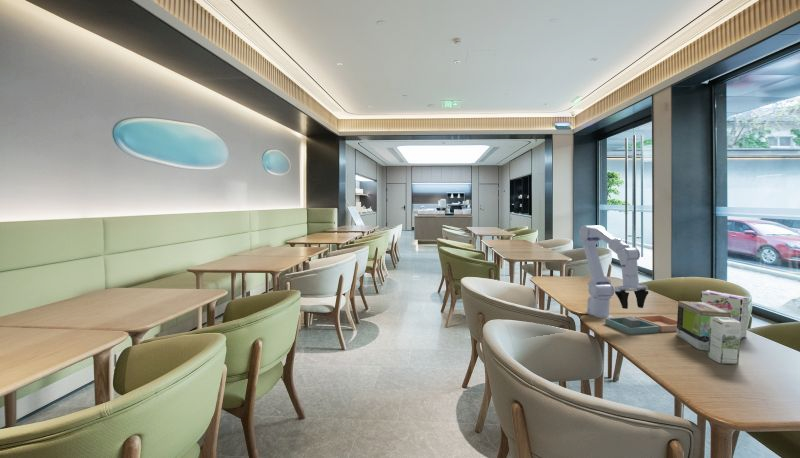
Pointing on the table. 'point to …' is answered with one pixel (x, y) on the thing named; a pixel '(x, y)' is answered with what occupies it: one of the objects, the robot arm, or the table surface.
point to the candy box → (729, 306)
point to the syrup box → (724, 340)
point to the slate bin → (643, 328)
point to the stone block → (631, 322)
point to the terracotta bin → (660, 322)
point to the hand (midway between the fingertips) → (632, 308)
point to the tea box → (697, 322)
